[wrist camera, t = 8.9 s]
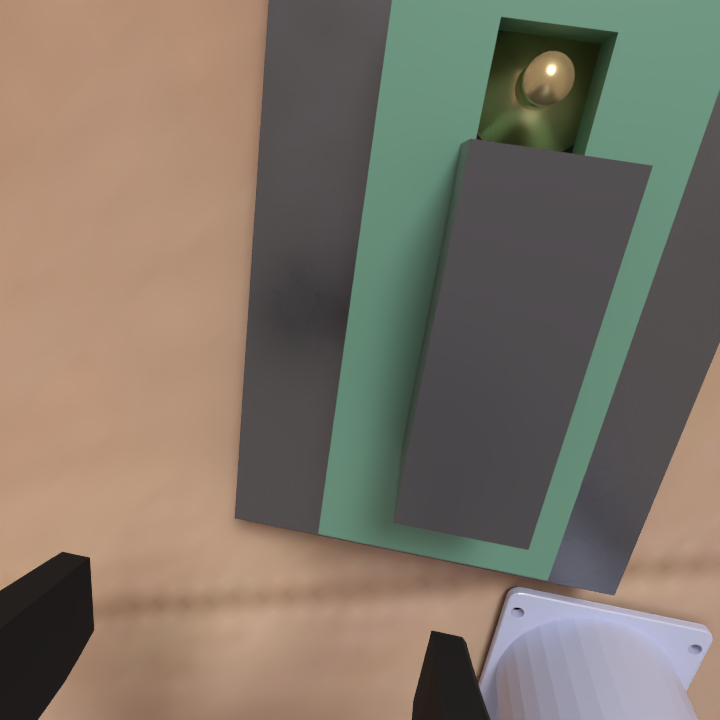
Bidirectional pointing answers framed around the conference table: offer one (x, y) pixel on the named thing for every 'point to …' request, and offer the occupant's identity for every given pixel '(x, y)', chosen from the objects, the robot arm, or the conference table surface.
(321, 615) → the conference table surface
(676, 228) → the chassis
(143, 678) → the conference table surface
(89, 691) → the conference table surface
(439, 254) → the board
